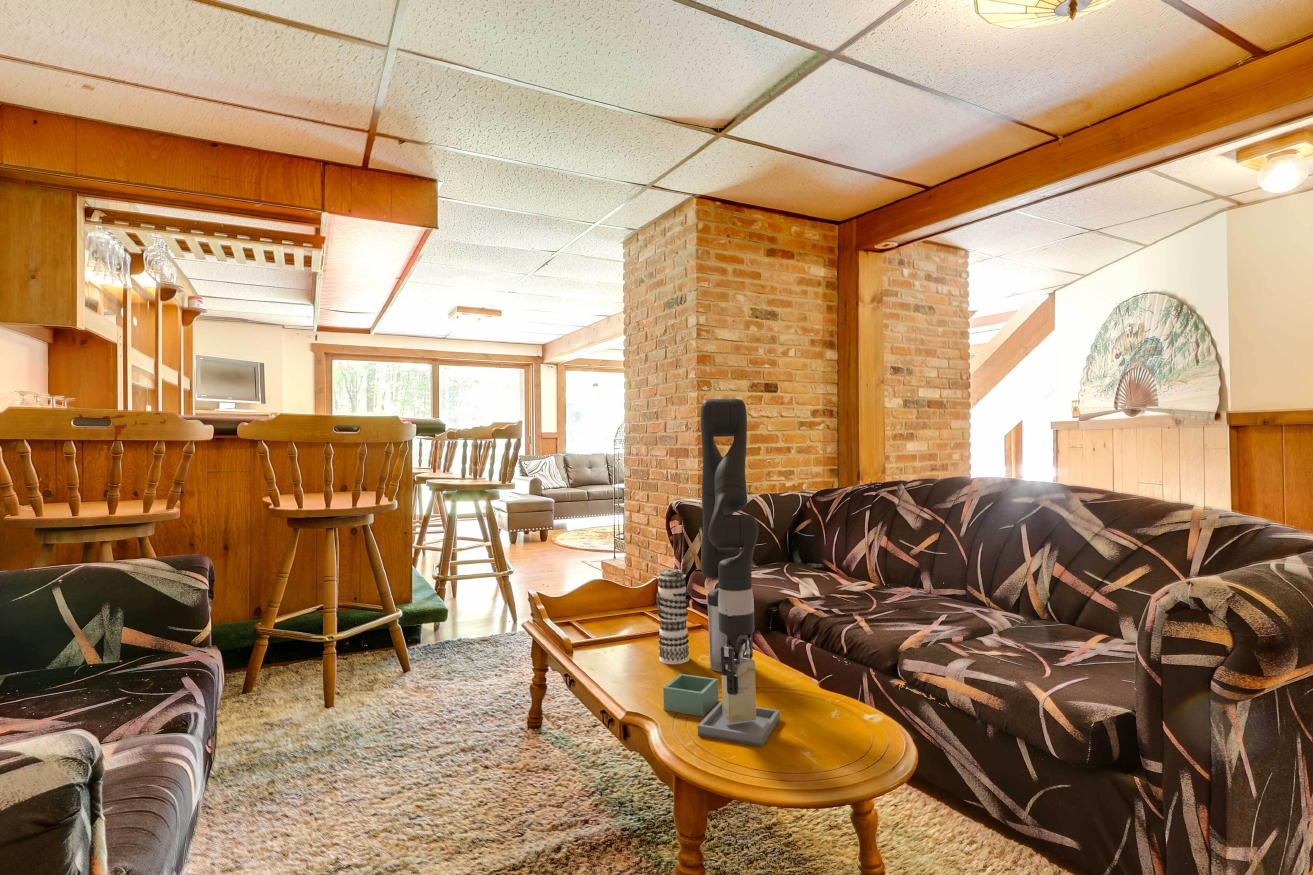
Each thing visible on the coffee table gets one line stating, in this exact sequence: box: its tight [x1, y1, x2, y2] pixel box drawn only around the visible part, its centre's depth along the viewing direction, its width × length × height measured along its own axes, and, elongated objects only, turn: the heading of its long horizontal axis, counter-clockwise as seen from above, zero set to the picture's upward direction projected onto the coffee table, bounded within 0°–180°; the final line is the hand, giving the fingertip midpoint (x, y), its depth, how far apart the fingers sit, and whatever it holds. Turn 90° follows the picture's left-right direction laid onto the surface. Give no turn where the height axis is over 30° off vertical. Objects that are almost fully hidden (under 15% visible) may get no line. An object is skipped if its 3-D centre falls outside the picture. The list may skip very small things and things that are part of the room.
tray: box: [697, 700, 781, 748], centre depth 133 cm, size 14×14×2 cm
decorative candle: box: [656, 568, 690, 665], centre depth 178 cm, size 9×9×25 cm
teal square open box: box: [662, 673, 719, 717], centre depth 145 cm, size 10×10×5 cm
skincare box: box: [721, 657, 757, 723], centre depth 133 cm, size 6×4×12 cm
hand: (738, 687), depth 133 cm, fingers closed on skincare box, 7 cm apart
